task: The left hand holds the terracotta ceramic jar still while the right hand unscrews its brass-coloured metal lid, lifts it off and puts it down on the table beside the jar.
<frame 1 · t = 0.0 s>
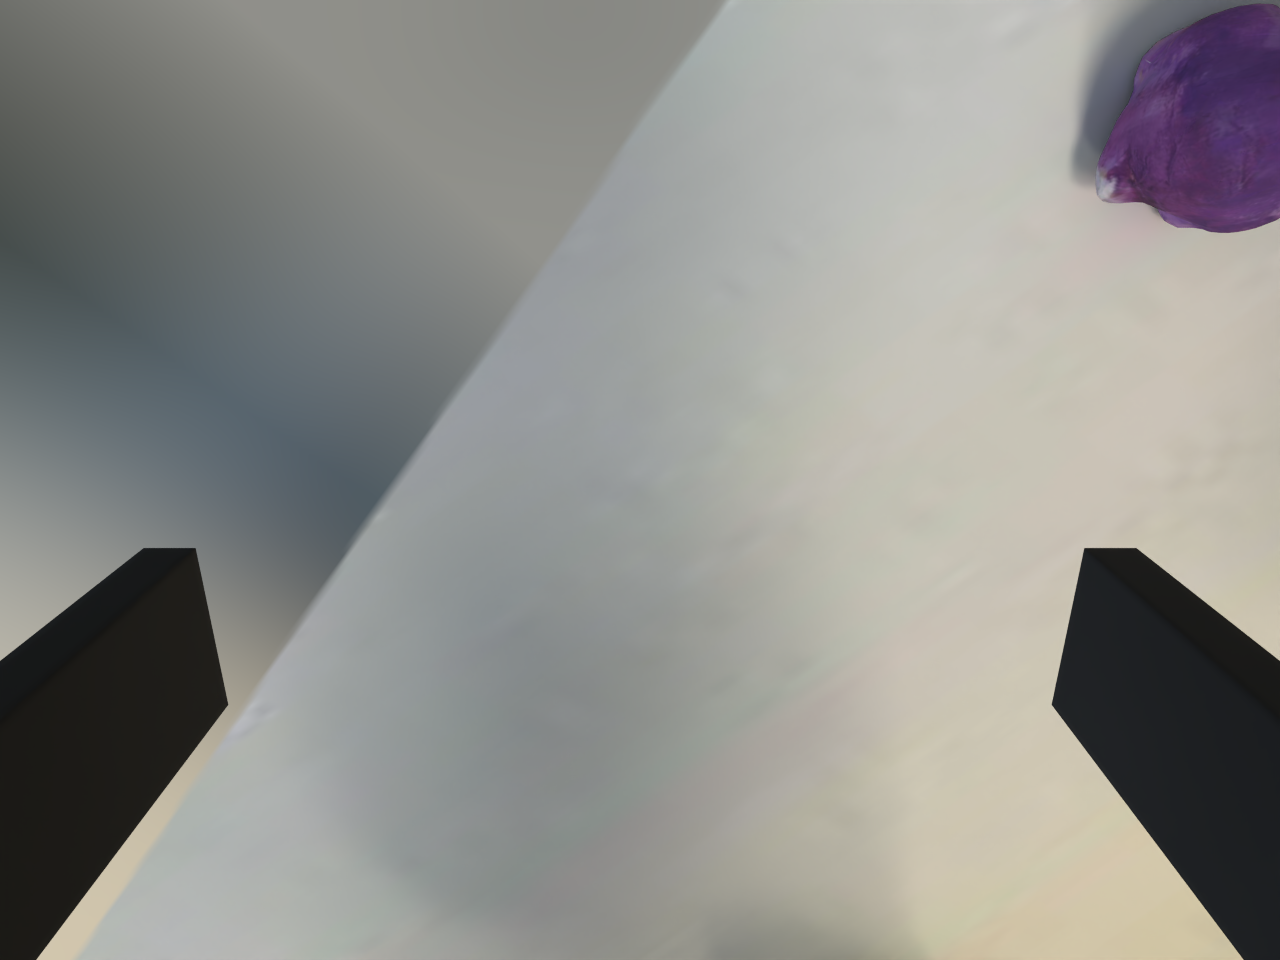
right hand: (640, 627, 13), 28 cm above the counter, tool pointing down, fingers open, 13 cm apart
figurine: (1213, 102, 36), on the counter
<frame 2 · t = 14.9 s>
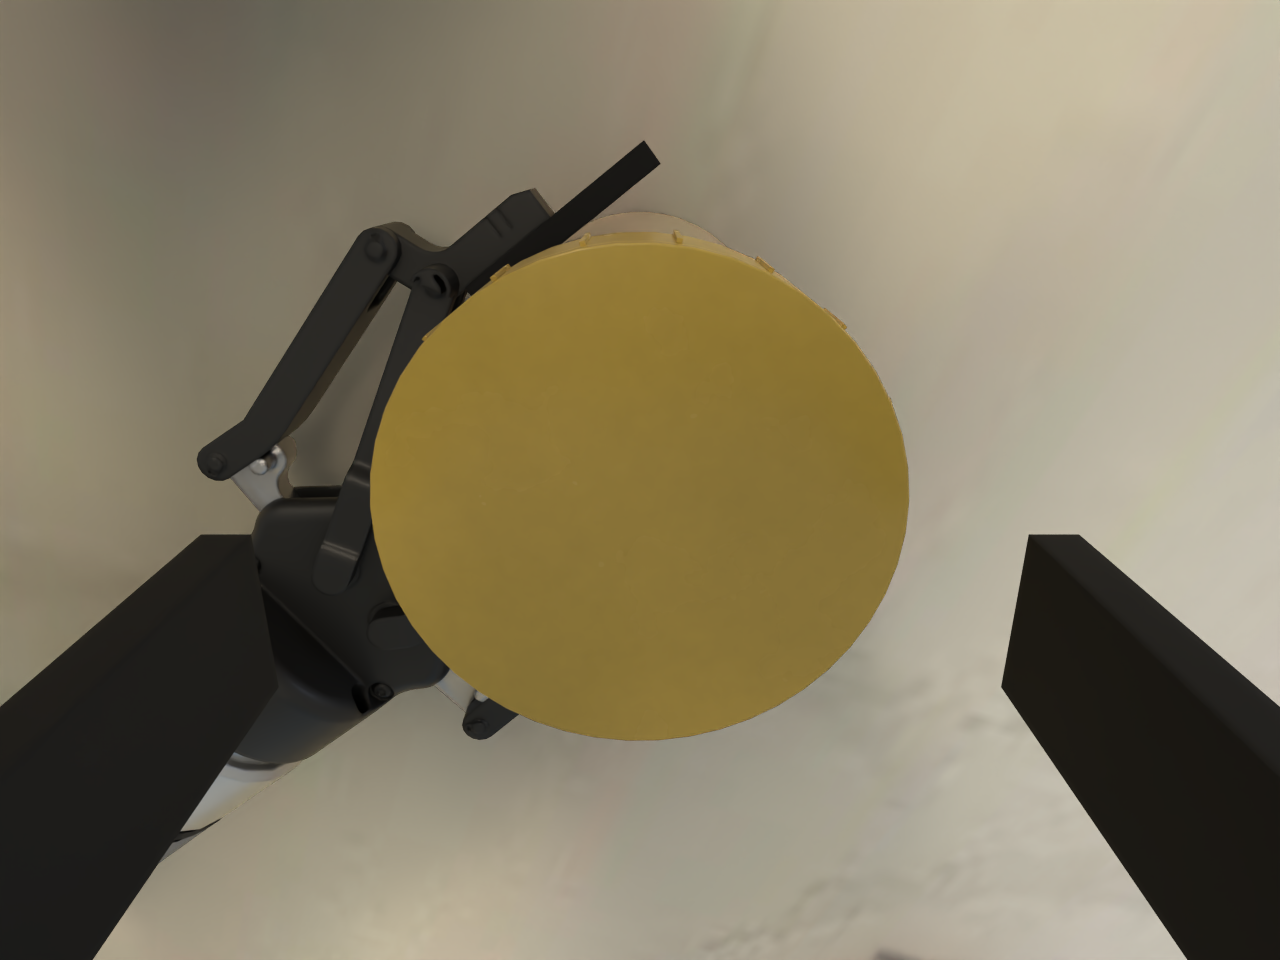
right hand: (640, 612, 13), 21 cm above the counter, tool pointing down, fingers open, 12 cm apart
lid: (639, 513, 17), point 17 cm above the counter, screwed on, not yet turned
jar: (639, 342, 32), on the counter, touching left hand
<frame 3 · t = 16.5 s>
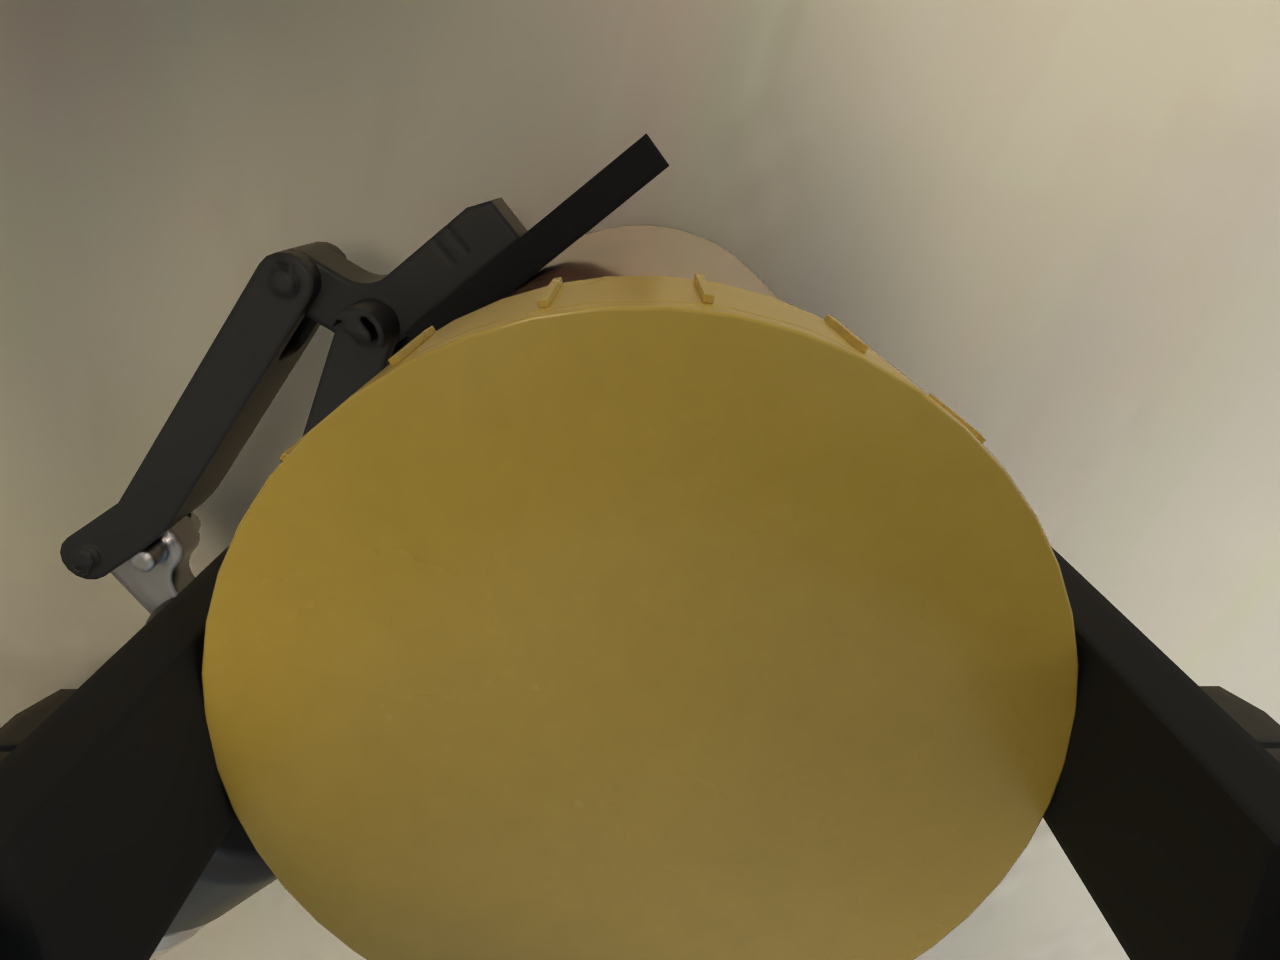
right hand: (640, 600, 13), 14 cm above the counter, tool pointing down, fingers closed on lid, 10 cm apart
lid: (639, 723, 11), point 17 cm above the counter, screwed on, not yet turned, touching right hand
jar: (640, 385, 26), on the counter, touching left hand
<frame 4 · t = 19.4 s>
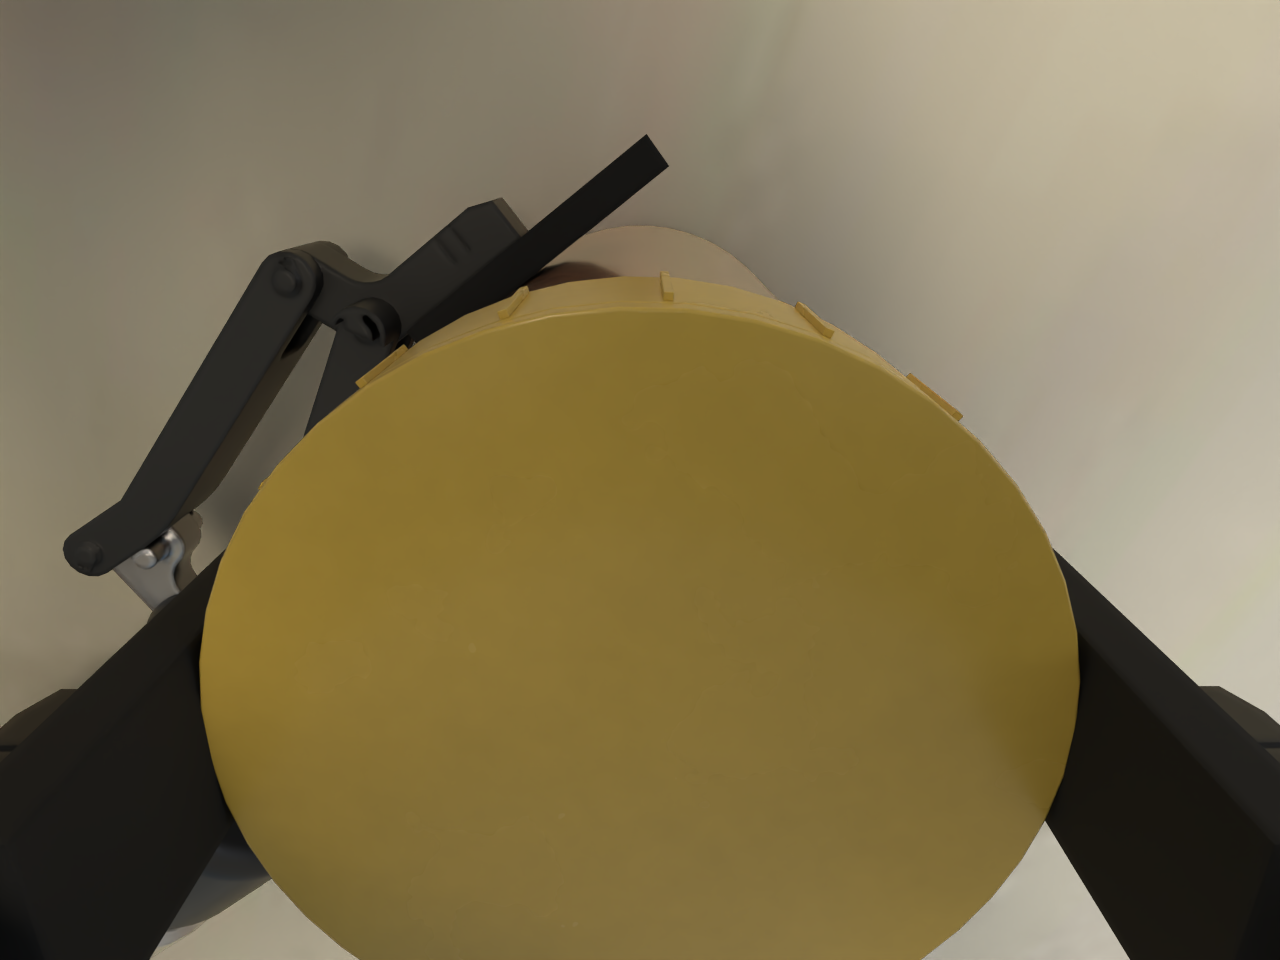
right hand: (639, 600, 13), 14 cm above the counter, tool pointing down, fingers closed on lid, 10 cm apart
lid: (639, 726, 11), point 17 cm above the counter, turned 80° so far, risen 0.2 cm, still on its thread, touching right hand
jar: (639, 384, 26), on the counter, touching left hand
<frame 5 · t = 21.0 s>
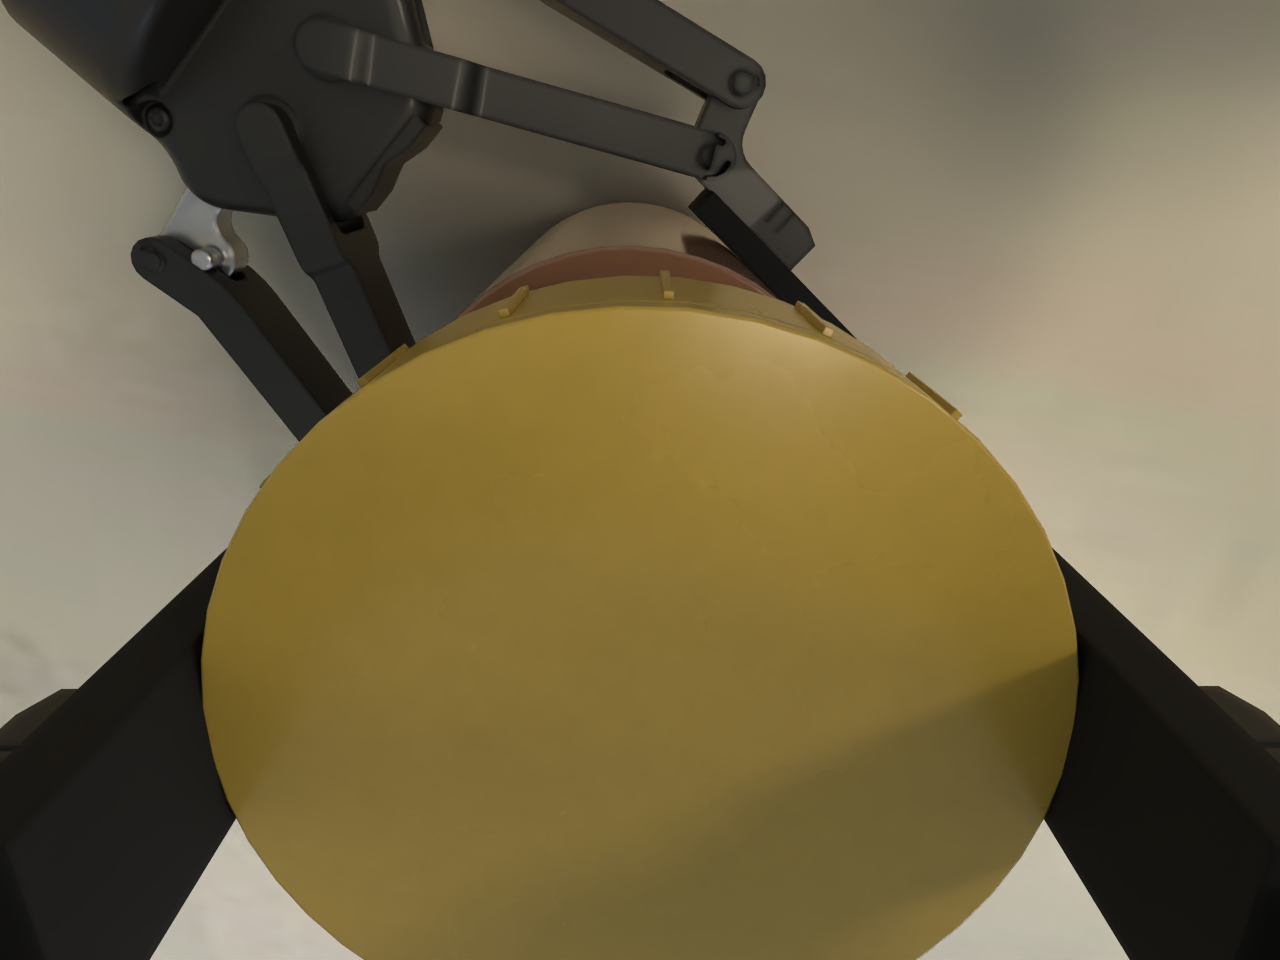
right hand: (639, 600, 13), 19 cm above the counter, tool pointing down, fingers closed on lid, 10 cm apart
left hand: (730, 472, 27), fingers closed on jar, 10 cm apart
lid: (639, 724, 11), point 22 cm above the counter, off its thread, touching right hand
jar: (629, 337, 31), on the counter, touching left hand
when the right hand's fingers open (0 cm above the counter, at t = 26.2 s): lid drops 1 cm, point 2 cm above the counter.
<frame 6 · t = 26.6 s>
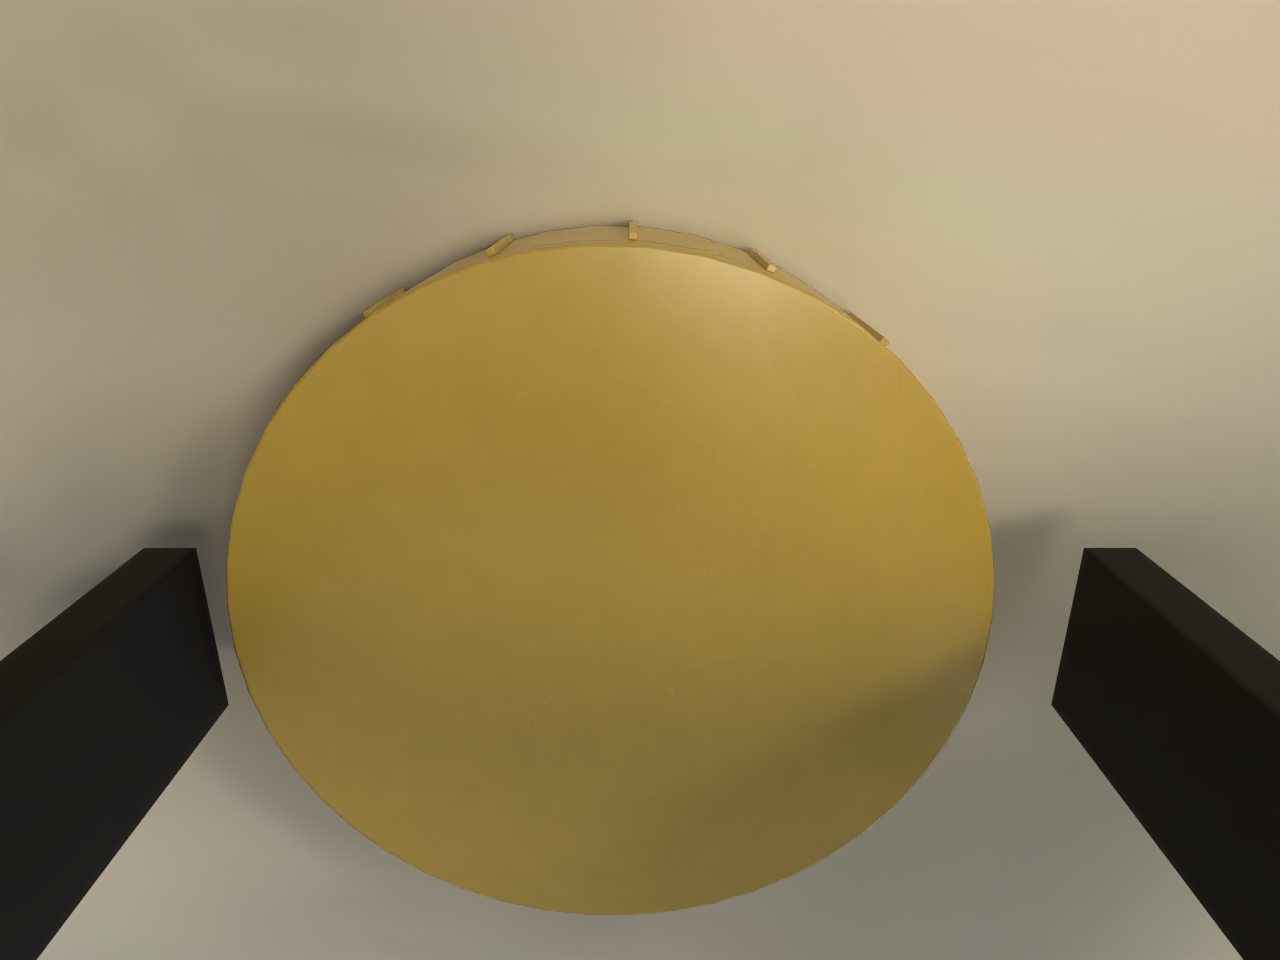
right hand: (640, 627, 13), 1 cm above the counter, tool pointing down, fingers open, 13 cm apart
lid: (613, 622, 12), point 2 cm above the counter, off its thread
when the left hand's fingers open (6 cm above the counter, at t = 27.3 s): jar stays where it is, on the counter.
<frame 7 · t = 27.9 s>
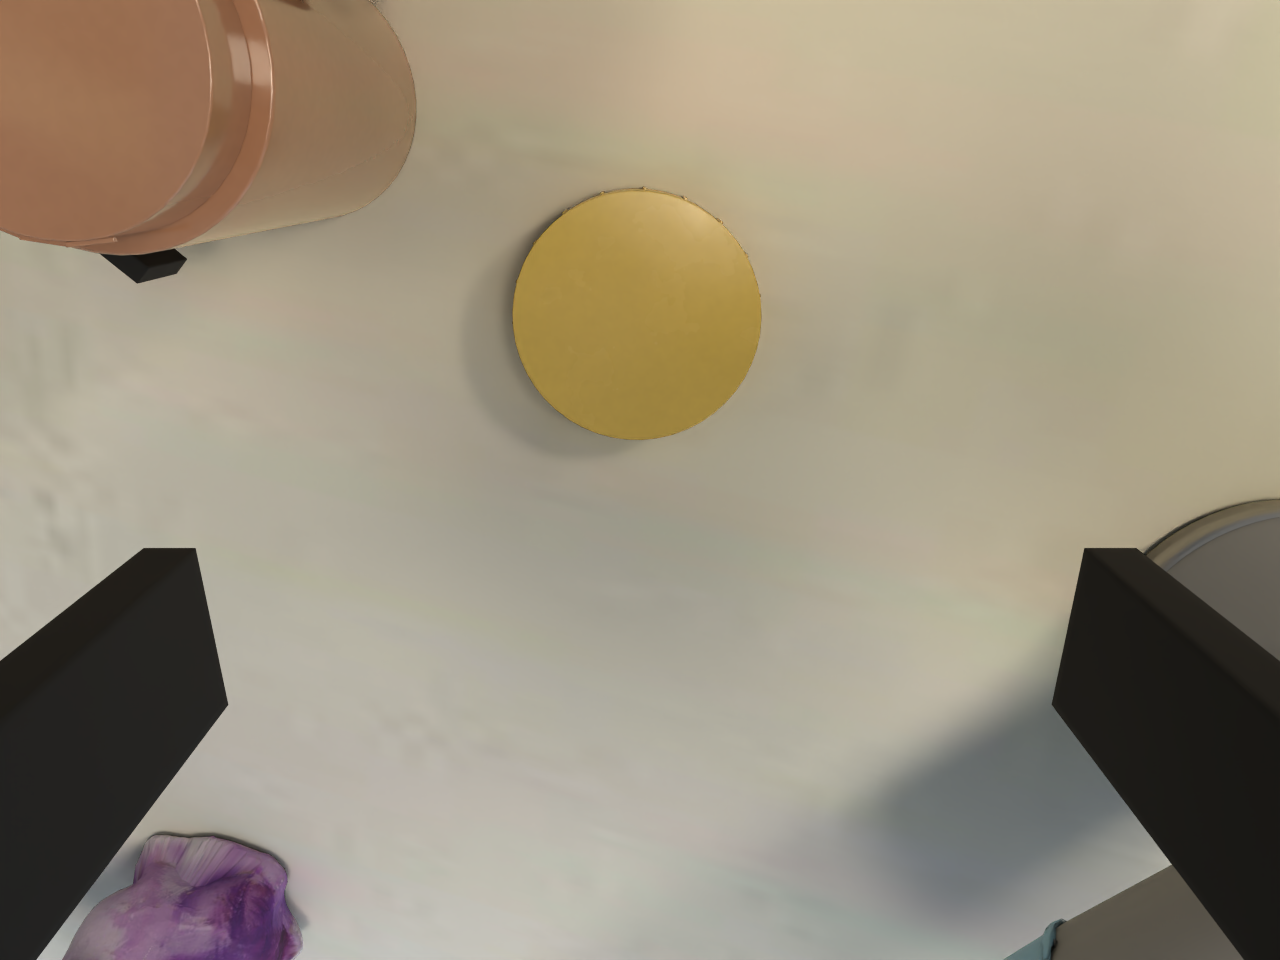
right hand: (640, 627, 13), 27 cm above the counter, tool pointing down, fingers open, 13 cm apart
lid: (636, 320, 36), point 2 cm above the counter, off its thread
figurine: (212, 883, 50), on the counter
jar: (299, 97, 35), on the counter
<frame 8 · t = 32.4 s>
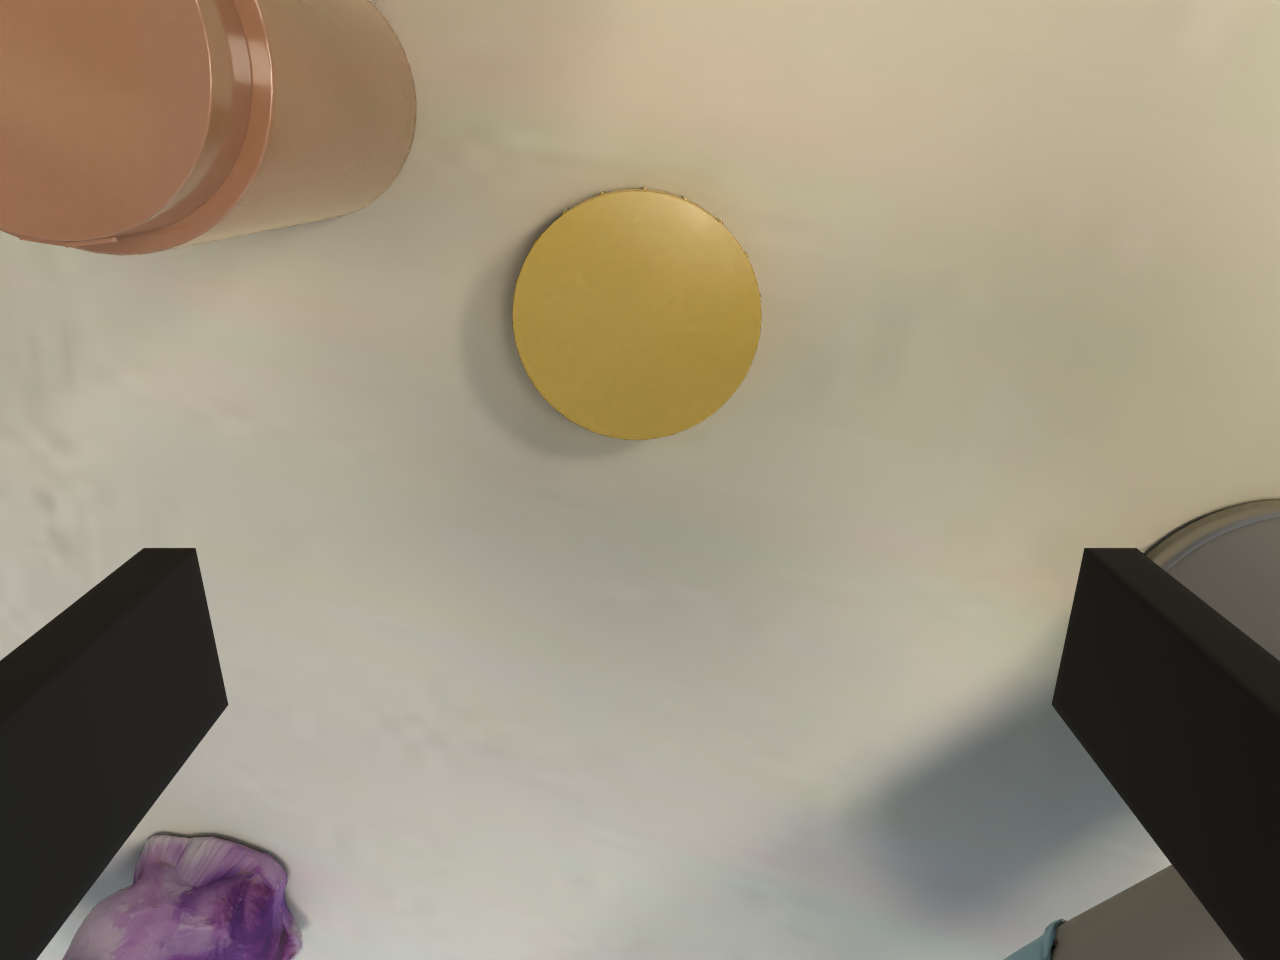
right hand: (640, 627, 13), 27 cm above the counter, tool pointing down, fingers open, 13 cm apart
lid: (636, 320, 36), point 2 cm above the counter, off its thread
figurine: (212, 883, 50), on the counter
jar: (299, 97, 35), on the counter
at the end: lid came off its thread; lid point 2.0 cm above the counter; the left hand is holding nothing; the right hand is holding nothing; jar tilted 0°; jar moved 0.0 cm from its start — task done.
